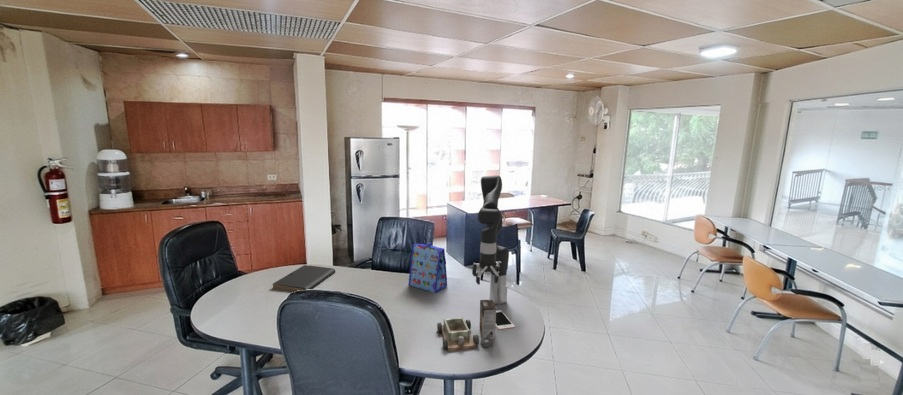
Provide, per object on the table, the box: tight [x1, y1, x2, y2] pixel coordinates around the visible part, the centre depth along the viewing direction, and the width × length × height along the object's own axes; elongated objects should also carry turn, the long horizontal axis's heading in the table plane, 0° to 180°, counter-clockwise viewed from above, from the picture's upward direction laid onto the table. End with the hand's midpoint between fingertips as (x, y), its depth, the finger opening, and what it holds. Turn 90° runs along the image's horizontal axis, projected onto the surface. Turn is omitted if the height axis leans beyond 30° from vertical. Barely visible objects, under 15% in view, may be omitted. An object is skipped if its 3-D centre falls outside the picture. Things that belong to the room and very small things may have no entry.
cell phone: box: [495, 309, 516, 331], centre depth 194 cm, size 9×18×1 cm, turn 15°
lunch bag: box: [408, 242, 448, 294], centre depth 232 cm, size 22×14×29 cm, turn 58°
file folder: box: [272, 264, 336, 292], centre depth 241 cm, size 33×4×24 cm
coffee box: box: [479, 299, 497, 340], centre depth 179 cm, size 9×6×16 cm
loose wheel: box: [480, 338, 493, 349], centre depth 171 cm, size 5×5×2 cm
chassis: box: [436, 317, 480, 352], centre depth 176 cm, size 16×20×6 cm
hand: (487, 283), depth 176 cm, fingers open, 8 cm apart
